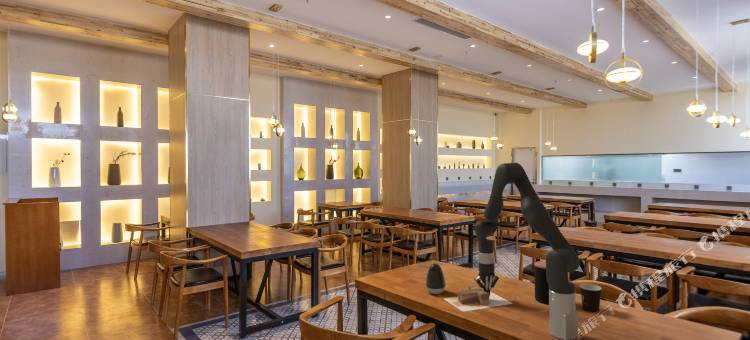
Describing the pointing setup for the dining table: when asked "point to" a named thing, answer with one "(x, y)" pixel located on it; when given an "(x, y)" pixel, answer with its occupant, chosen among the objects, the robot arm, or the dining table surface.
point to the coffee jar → (541, 283)
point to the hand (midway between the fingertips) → (487, 296)
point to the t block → (473, 296)
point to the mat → (493, 301)
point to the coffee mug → (590, 297)
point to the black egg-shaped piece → (435, 279)
